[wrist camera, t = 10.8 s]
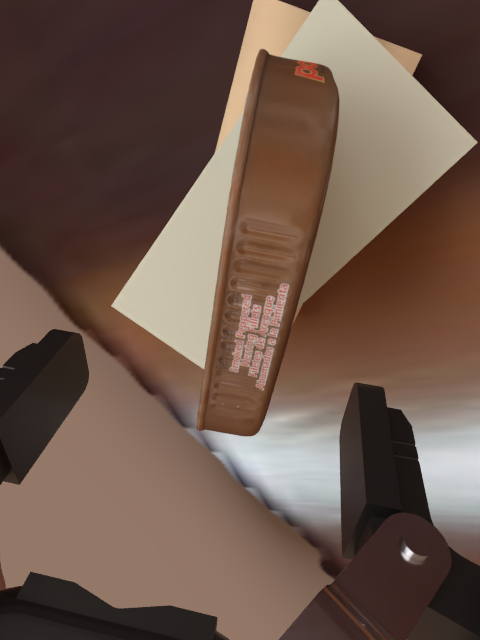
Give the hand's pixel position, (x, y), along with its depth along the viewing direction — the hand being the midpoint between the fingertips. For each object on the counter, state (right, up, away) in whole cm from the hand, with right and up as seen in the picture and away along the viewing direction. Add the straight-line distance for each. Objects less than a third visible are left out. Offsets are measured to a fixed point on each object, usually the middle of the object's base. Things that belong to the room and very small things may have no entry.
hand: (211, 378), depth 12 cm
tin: (+2, +6, +8) cm, 10 cm away
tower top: (+3, +8, +12) cm, 15 cm away
